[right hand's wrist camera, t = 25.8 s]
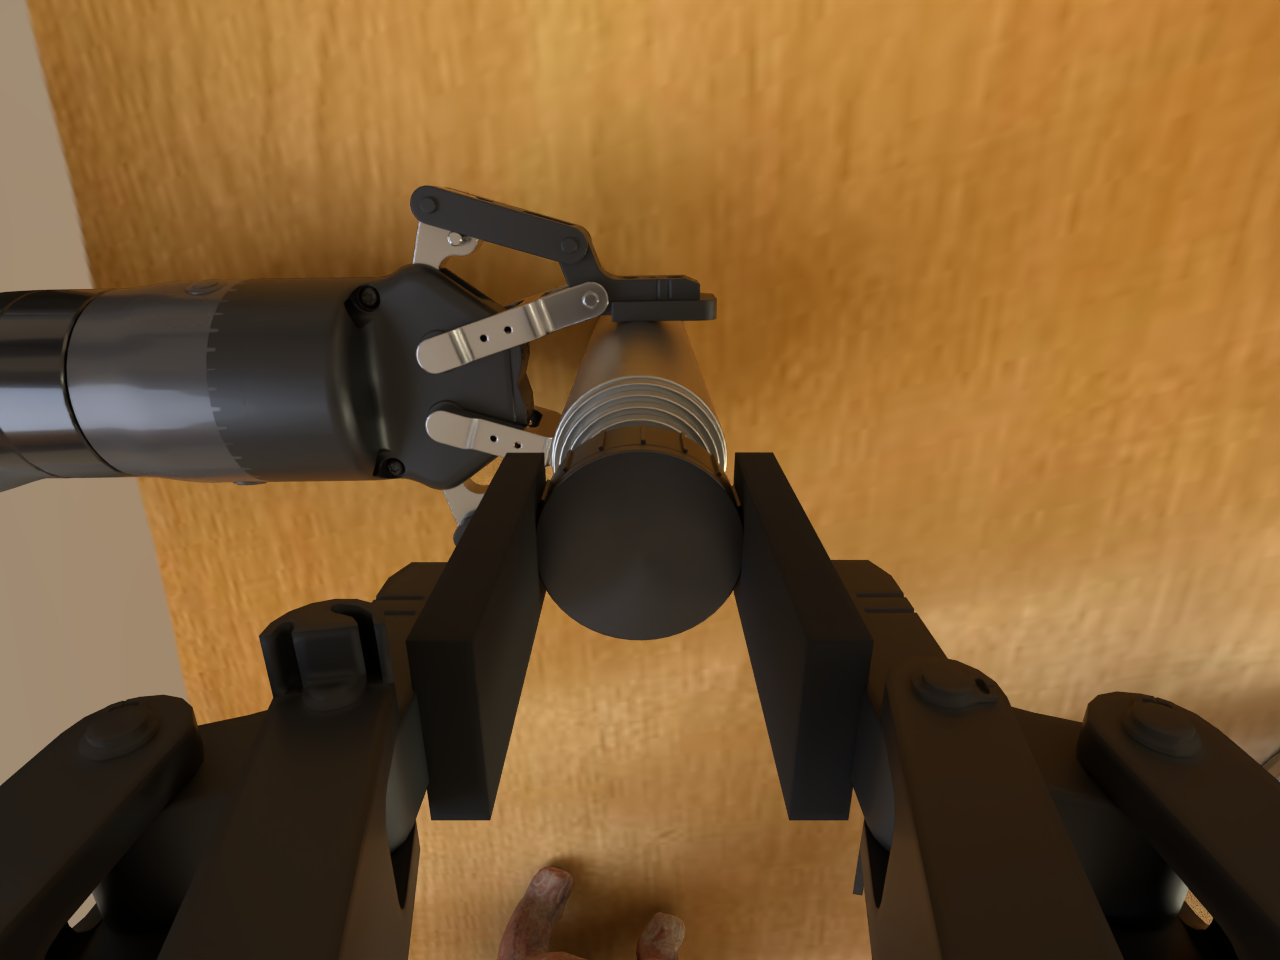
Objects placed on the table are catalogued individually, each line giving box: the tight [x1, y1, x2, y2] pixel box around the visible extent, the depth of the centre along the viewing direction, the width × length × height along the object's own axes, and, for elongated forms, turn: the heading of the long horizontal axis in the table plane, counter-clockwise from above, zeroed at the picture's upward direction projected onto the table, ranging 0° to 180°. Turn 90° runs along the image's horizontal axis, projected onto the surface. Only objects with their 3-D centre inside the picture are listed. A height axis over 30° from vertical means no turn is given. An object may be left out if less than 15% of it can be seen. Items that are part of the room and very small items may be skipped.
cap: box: [536, 424, 744, 640], centre depth 14 cm, size 4×4×2 cm
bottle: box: [551, 315, 727, 475], centre depth 23 cm, size 4×4×20 cm
